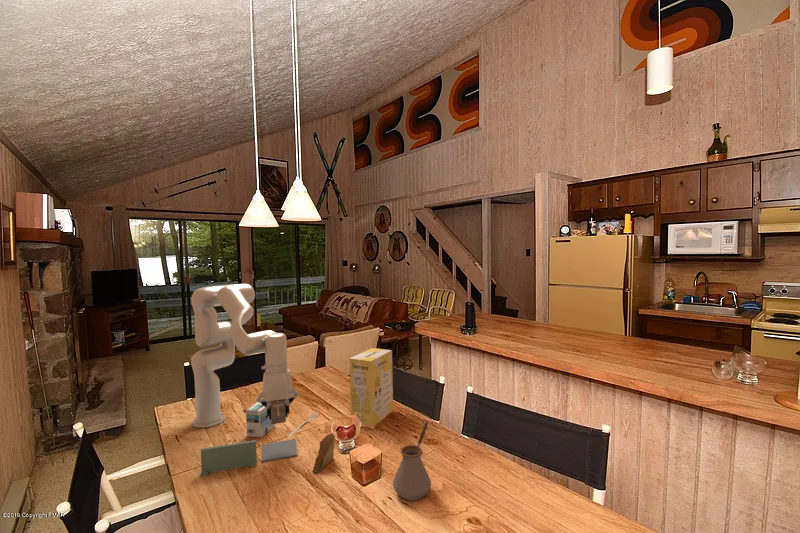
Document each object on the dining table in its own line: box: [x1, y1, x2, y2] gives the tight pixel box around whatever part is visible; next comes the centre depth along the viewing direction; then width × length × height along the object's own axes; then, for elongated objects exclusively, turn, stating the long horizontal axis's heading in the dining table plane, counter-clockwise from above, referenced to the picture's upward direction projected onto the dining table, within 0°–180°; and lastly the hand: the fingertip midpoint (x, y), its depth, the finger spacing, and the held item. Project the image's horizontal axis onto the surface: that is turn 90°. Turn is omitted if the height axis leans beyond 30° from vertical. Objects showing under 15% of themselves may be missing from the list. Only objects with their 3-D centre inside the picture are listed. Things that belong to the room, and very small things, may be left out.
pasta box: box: [348, 347, 394, 427], centre depth 163 cm, size 18×10×28 cm, turn 153°
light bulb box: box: [245, 401, 276, 438], centre depth 153 cm, size 11×7×11 cm, turn 168°
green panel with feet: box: [200, 439, 258, 477], centre depth 127 cm, size 4×17×8 cm, turn 108°
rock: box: [312, 432, 336, 473], centre depth 129 cm, size 11×9×10 cm
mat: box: [260, 438, 298, 463], centre depth 138 cm, size 12×12×1 cm
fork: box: [287, 411, 320, 437], centre depth 157 cm, size 3×24×2 cm, turn 160°
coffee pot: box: [392, 421, 432, 501], centre depth 117 cm, size 21×12×15 cm, turn 158°
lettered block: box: [271, 400, 287, 425], centre depth 137 cm, size 6×5×8 cm
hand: (278, 416), depth 137 cm, fingers closed on lettered block, 5 cm apart
